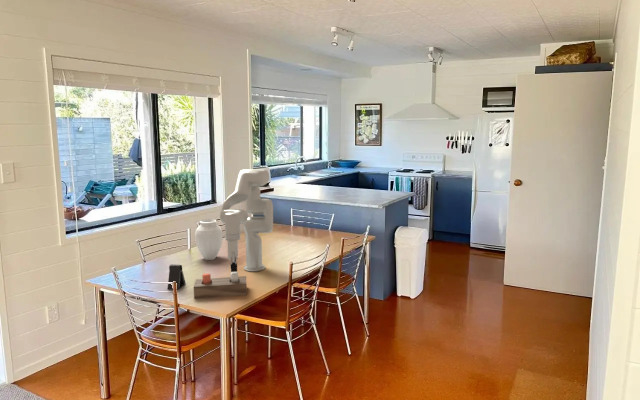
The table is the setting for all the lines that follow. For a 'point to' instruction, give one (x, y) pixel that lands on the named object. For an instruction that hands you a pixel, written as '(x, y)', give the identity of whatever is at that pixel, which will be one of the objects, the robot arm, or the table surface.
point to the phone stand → (176, 276)
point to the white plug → (234, 276)
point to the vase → (208, 238)
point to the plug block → (220, 287)
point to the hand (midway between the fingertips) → (234, 271)
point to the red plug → (206, 278)
